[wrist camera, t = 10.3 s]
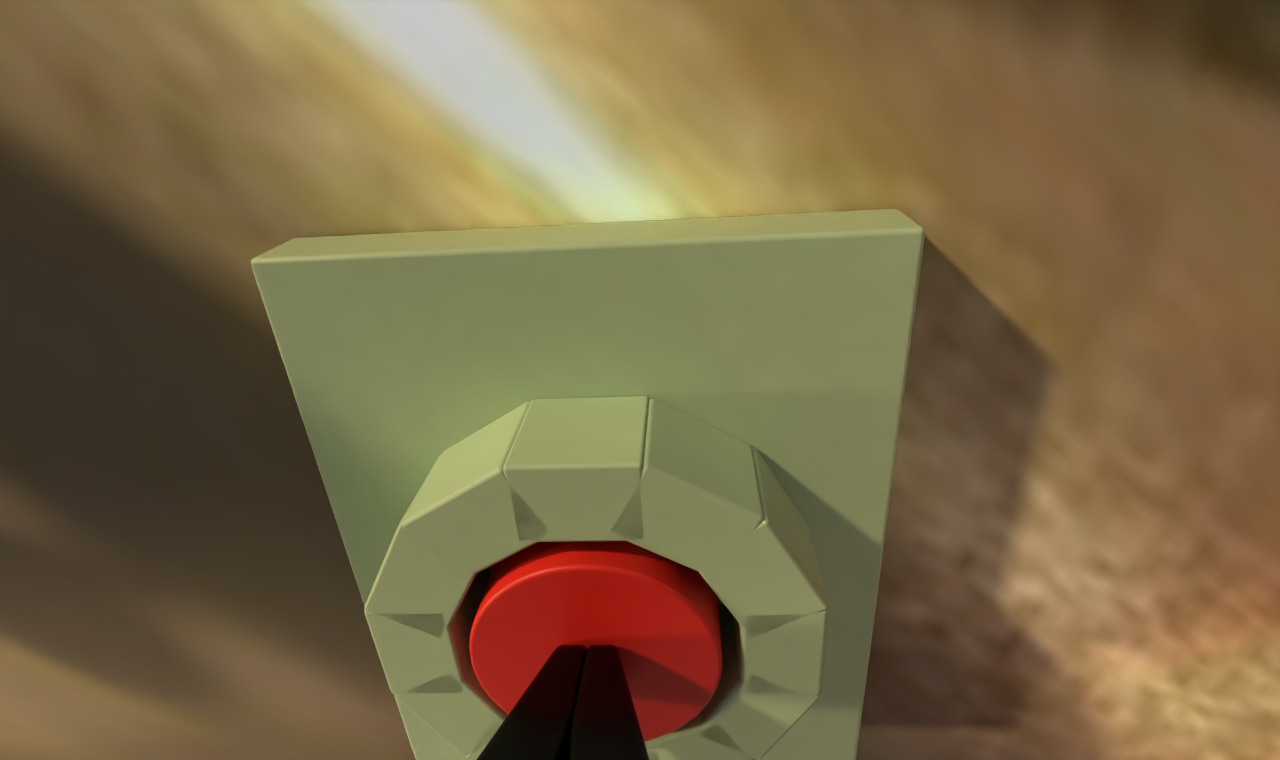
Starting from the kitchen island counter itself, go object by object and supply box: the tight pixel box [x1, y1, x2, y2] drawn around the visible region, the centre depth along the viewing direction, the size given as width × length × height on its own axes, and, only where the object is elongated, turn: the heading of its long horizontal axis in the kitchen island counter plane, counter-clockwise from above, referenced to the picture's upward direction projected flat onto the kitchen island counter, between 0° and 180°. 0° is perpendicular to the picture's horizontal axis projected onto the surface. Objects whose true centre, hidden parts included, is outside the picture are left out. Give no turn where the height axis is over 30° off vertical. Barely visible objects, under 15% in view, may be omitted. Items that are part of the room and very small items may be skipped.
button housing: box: [251, 209, 925, 760], centre depth 11 cm, size 11×9×3 cm
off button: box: [469, 541, 723, 741], centre depth 10 cm, size 4×4×2 cm
